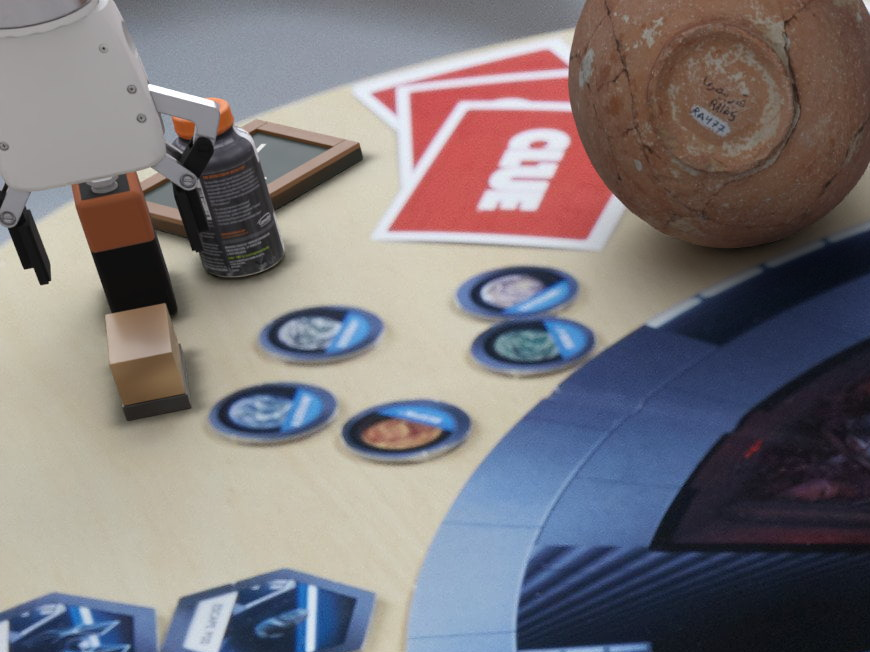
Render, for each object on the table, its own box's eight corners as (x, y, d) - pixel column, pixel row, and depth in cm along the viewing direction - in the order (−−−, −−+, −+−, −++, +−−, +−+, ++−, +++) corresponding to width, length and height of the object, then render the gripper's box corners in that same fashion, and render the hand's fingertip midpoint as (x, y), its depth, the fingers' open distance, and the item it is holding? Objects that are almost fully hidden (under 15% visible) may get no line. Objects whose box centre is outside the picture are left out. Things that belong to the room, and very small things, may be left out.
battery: (116, 330, 166) (69, 192, 159) (108, 289, 171) (62, 153, 164) (180, 317, 167) (136, 179, 160) (170, 276, 171) (127, 141, 165)
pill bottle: (292, 239, 175) (249, 85, 167) (279, 276, 170) (235, 120, 163) (211, 246, 175) (164, 93, 167) (196, 283, 170) (148, 128, 163)
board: (215, 244, 175) (210, 228, 174) (110, 217, 179) (104, 201, 179) (363, 158, 185) (359, 142, 184) (260, 134, 189) (256, 118, 188)
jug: (500, 175, 156) (549, 115, 183) (795, 334, 162) (801, 253, 188) (642, -147, 148) (672, -161, 174) (948, 33, 154) (932, -7, 180)
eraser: (126, 421, 156) (107, 365, 154) (121, 368, 162) (103, 314, 159) (191, 408, 157) (173, 352, 154) (184, 356, 162) (166, 301, 160)
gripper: (169, -60, 146) (252, 208, 157) (-123, -4, 143) (-16, 264, 154) (176, -19, 140) (262, 255, 152) (-127, 40, 137) (-16, 314, 149)
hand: (121, 259), depth 153 cm, fingers open, 9 cm apart
